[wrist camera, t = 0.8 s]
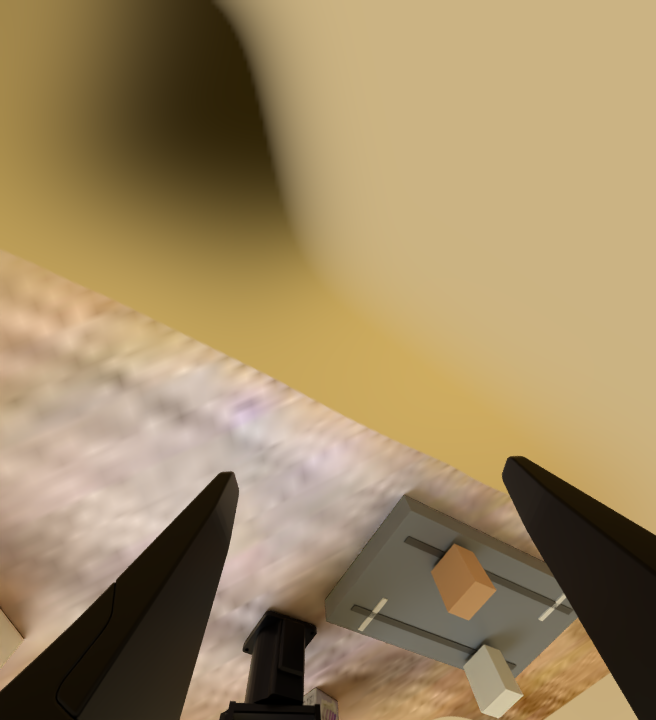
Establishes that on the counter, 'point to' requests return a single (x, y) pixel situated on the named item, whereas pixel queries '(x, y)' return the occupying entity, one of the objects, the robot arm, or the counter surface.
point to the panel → (423, 600)
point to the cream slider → (492, 681)
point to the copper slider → (462, 582)
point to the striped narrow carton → (323, 704)
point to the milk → (8, 639)
